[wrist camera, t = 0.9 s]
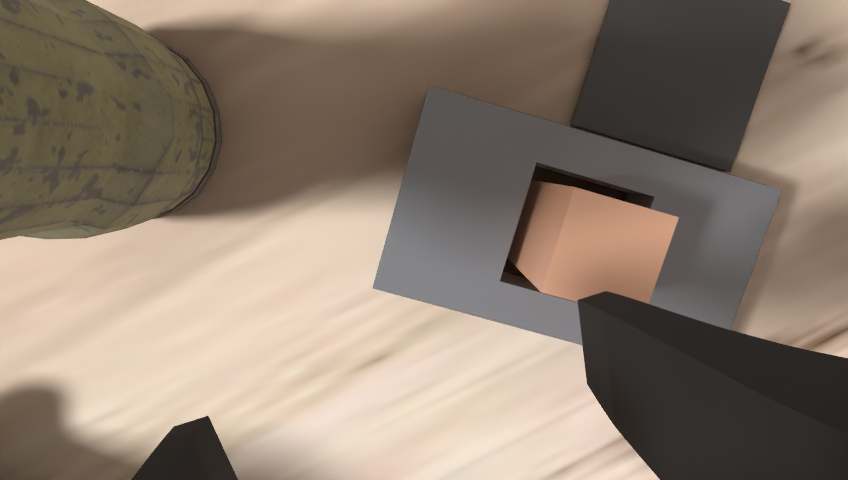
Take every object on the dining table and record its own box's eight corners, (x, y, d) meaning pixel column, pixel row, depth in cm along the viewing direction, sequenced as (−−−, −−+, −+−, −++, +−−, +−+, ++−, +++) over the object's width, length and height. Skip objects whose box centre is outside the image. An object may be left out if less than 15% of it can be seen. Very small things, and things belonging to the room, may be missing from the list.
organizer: (740, 187, 27) (782, 190, 24) (678, 356, 28) (711, 380, 25) (426, 93, 26) (429, 84, 23) (376, 274, 27) (372, 288, 24)
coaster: (784, 5, 25) (790, 3, 25) (725, 171, 26) (730, 171, 26) (624, -46, 25) (627, -49, 24) (570, 125, 26) (572, 124, 26)
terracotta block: (608, 202, 27) (678, 217, 20) (583, 279, 27) (642, 320, 20) (531, 180, 26) (575, 187, 19) (507, 258, 27) (540, 292, 20)
